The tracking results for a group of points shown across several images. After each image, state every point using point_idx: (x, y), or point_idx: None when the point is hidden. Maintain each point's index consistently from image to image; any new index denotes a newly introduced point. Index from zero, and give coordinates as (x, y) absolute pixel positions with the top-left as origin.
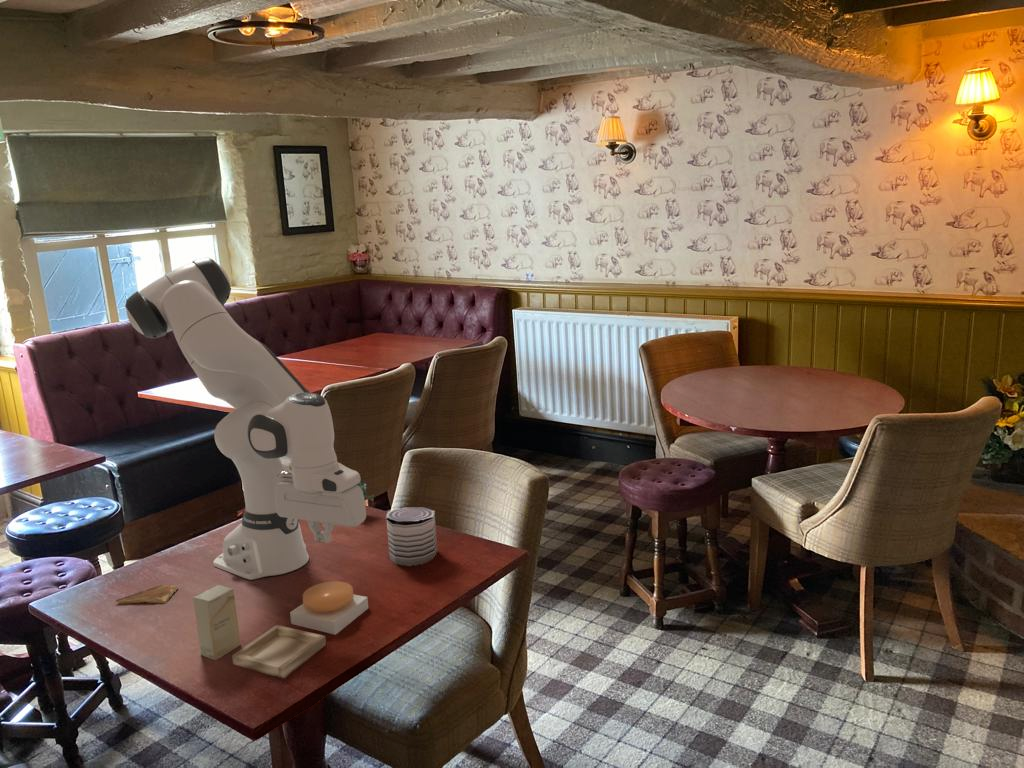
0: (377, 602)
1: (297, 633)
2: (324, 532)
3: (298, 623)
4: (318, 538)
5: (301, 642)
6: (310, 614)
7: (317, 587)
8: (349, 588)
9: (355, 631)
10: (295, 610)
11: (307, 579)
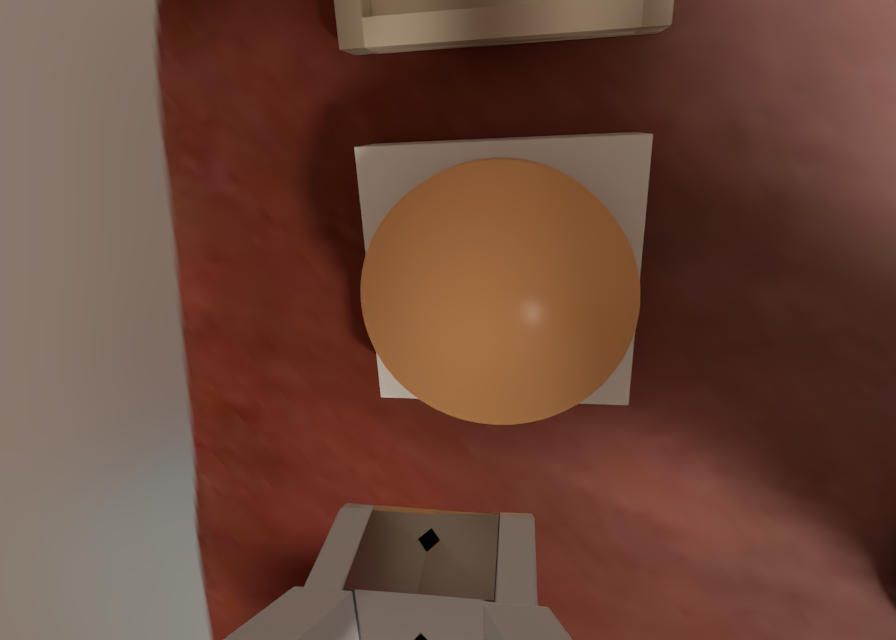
0: (408, 428)
1: (496, 7)
2: (284, 629)
3: (591, 134)
4: (456, 542)
5: (465, 1)
6: None
7: (593, 332)
8: (416, 378)
9: (329, 213)
10: (635, 166)
11: (832, 505)
